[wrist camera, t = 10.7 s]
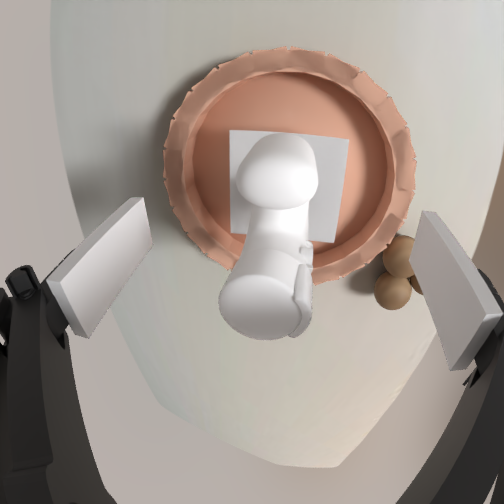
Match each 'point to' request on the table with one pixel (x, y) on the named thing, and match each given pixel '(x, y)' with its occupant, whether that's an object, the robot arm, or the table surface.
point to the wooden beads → (396, 275)
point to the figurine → (279, 226)
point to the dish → (301, 122)
